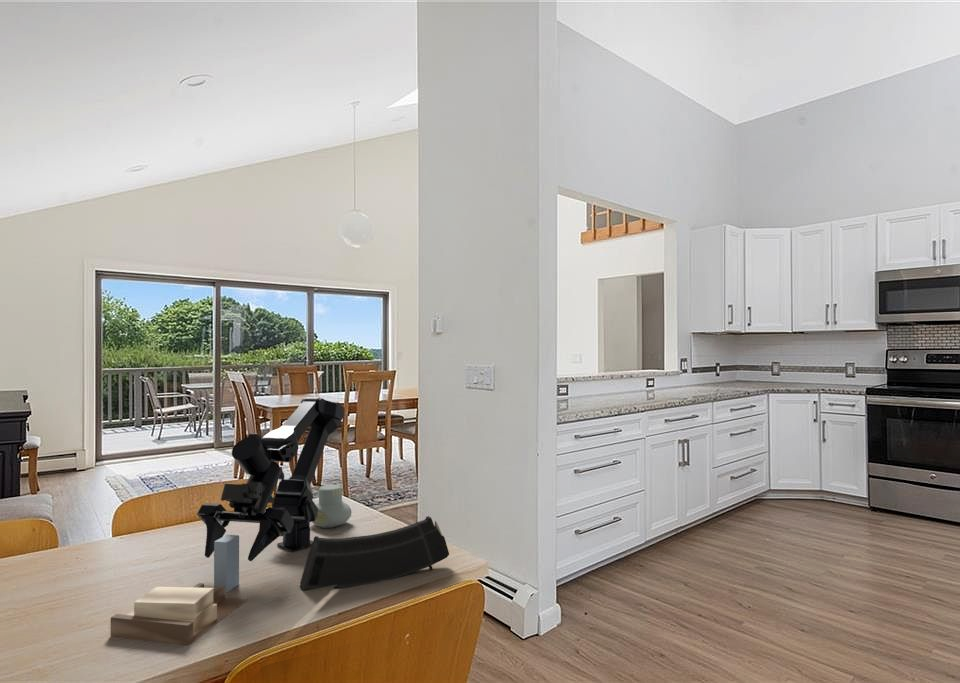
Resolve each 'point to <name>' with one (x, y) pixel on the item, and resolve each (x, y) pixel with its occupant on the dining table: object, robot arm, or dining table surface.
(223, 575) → the tall board
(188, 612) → the offcut stack
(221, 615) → the walnut rack
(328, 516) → the air freshener
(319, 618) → the dining table surface
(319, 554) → the magazine
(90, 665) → the dining table surface
